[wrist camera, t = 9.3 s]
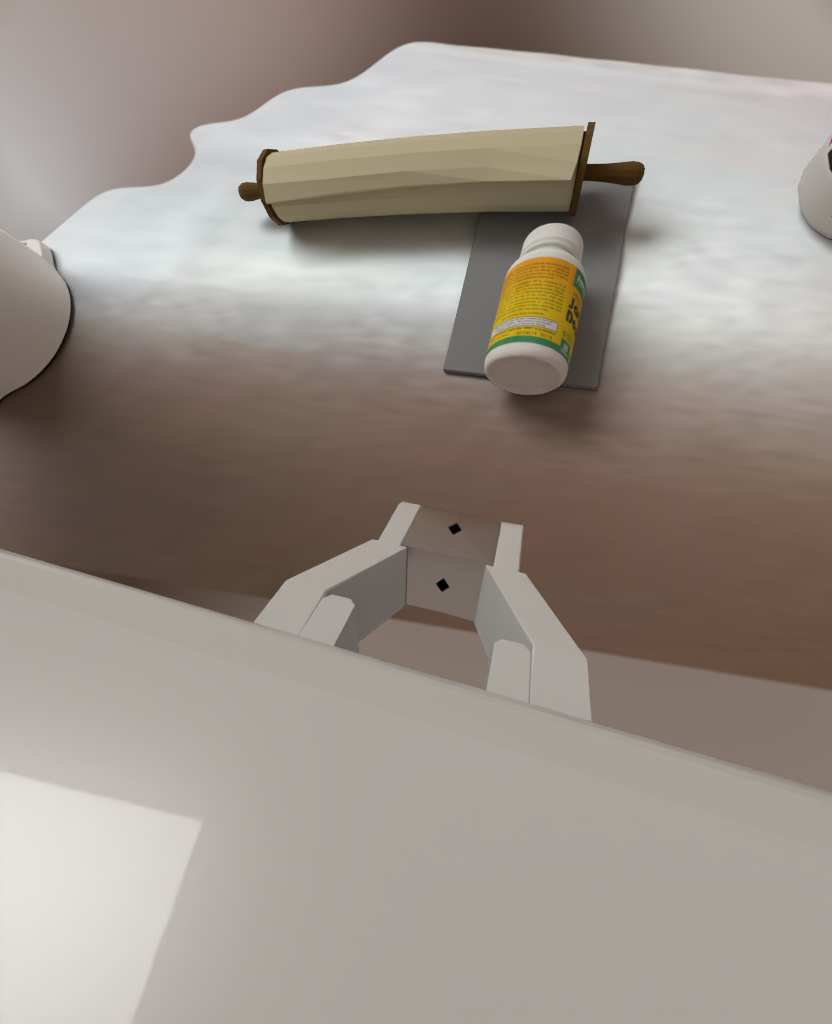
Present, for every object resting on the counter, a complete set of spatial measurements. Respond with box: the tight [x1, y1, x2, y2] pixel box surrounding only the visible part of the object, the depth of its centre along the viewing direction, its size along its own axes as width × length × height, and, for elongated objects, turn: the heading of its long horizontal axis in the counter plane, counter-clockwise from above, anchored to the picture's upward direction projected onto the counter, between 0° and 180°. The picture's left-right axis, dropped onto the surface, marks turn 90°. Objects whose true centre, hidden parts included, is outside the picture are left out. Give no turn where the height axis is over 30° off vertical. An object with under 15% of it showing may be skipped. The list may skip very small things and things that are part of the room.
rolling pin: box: [238, 122, 645, 225], centre depth 30 cm, size 32×6×5 cm, turn 78°
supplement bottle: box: [484, 223, 586, 395], centre depth 26 cm, size 5×5×10 cm
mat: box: [444, 181, 633, 390], centre depth 29 cm, size 11×18×1 cm, turn 166°
